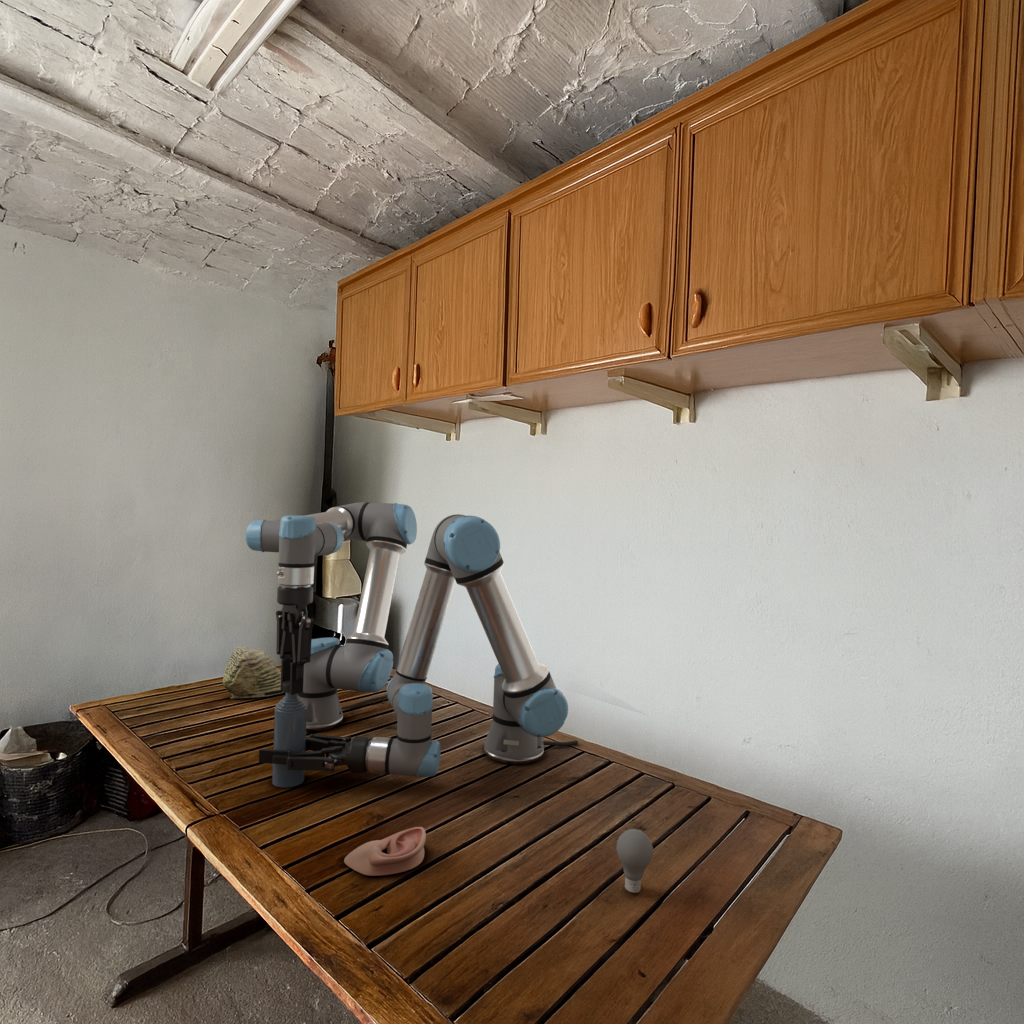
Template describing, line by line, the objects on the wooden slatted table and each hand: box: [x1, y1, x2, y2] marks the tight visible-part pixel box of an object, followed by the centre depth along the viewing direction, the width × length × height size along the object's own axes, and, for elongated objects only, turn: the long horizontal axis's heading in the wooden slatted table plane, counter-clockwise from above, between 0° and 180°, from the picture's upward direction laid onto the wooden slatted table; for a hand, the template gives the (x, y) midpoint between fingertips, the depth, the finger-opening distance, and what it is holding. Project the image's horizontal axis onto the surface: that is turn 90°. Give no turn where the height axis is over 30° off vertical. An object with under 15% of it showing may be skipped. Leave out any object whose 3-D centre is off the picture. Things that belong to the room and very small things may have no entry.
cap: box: [282, 680, 290, 693], centre depth 140 cm, size 4×4×2 cm
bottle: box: [271, 692, 307, 789], centre depth 140 cm, size 7×7×21 cm
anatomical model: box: [343, 826, 427, 877], centre depth 112 cm, size 13×4×12 cm
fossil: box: [222, 646, 284, 699], centre depth 198 cm, size 9×18×15 cm, turn 132°
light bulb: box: [615, 828, 654, 894], centre depth 106 cm, size 6×6×10 cm
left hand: (291, 690), depth 140 cm, fingers closed on cap, 4 cm apart
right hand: (267, 749), depth 141 cm, fingers closed on bottle, 7 cm apart
